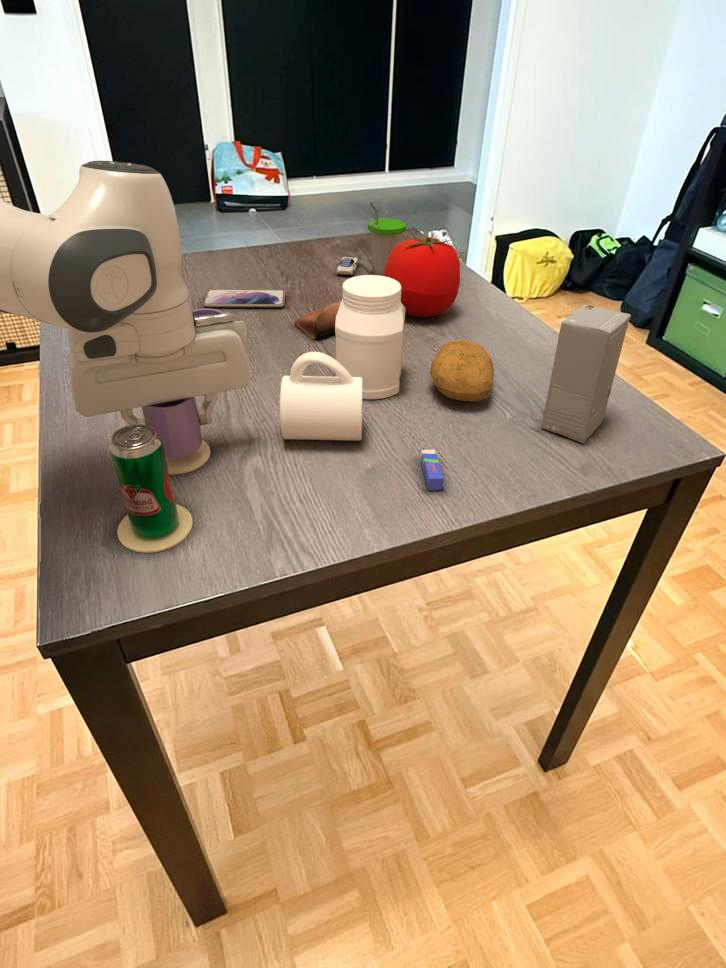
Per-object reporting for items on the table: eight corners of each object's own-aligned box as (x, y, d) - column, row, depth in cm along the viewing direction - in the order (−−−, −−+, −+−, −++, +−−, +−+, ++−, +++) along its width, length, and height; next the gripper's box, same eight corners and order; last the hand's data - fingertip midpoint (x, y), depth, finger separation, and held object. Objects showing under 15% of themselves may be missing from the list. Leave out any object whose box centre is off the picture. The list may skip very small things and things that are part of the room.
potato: (424, 409, 90) (428, 366, 85) (432, 368, 100) (436, 327, 95) (489, 416, 89) (496, 373, 84) (490, 374, 98) (497, 333, 94)
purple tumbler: (152, 461, 75) (141, 412, 71) (150, 434, 80) (139, 386, 76) (204, 453, 77) (196, 405, 72) (199, 427, 81) (191, 379, 77)
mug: (361, 452, 81) (363, 370, 73) (281, 451, 81) (275, 368, 73) (361, 418, 87) (363, 339, 80) (287, 417, 87) (282, 337, 80)
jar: (397, 402, 91) (404, 303, 82) (332, 397, 92) (332, 299, 82) (402, 365, 100) (408, 272, 91) (343, 361, 101) (343, 268, 91)
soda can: (122, 535, 67) (95, 444, 60) (148, 506, 71) (126, 418, 64) (164, 546, 66) (141, 454, 59) (188, 516, 70) (169, 427, 63)
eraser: (434, 461, 80) (436, 448, 79) (442, 491, 75) (444, 477, 74) (419, 462, 80) (420, 449, 78) (426, 491, 75) (427, 478, 74)
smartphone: (283, 304, 116) (202, 304, 115) (284, 308, 117) (203, 308, 116) (285, 289, 121) (208, 289, 121) (285, 293, 122) (208, 293, 121)
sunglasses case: (369, 299, 120) (381, 275, 114) (388, 328, 118) (402, 304, 113) (290, 322, 111) (299, 297, 105) (310, 353, 109) (320, 329, 104)
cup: (401, 268, 135) (405, 194, 126) (405, 281, 129) (410, 204, 120) (365, 268, 135) (367, 193, 125) (367, 281, 129) (369, 204, 119)
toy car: (361, 259, 139) (361, 247, 137) (352, 278, 130) (352, 265, 128) (345, 257, 139) (345, 246, 138) (335, 276, 130) (335, 264, 129)
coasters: (119, 560, 65) (119, 558, 65) (111, 449, 80) (111, 447, 80) (234, 535, 68) (234, 533, 68) (205, 433, 84) (205, 431, 83)
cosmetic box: (583, 445, 83) (615, 335, 73) (534, 427, 87) (558, 319, 77) (605, 419, 89) (638, 313, 79) (558, 402, 92) (584, 299, 82)
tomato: (457, 330, 111) (467, 252, 102) (380, 325, 112) (384, 248, 103) (454, 296, 123) (462, 224, 115) (384, 292, 124) (388, 221, 115)
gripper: (237, 299, 74) (248, 400, 83) (52, 325, 67) (85, 432, 76) (252, 320, 69) (262, 424, 78) (55, 350, 63) (89, 460, 71)
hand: (173, 428), depth 77 cm, fingers closed on purple tumbler, 6 cm apart
